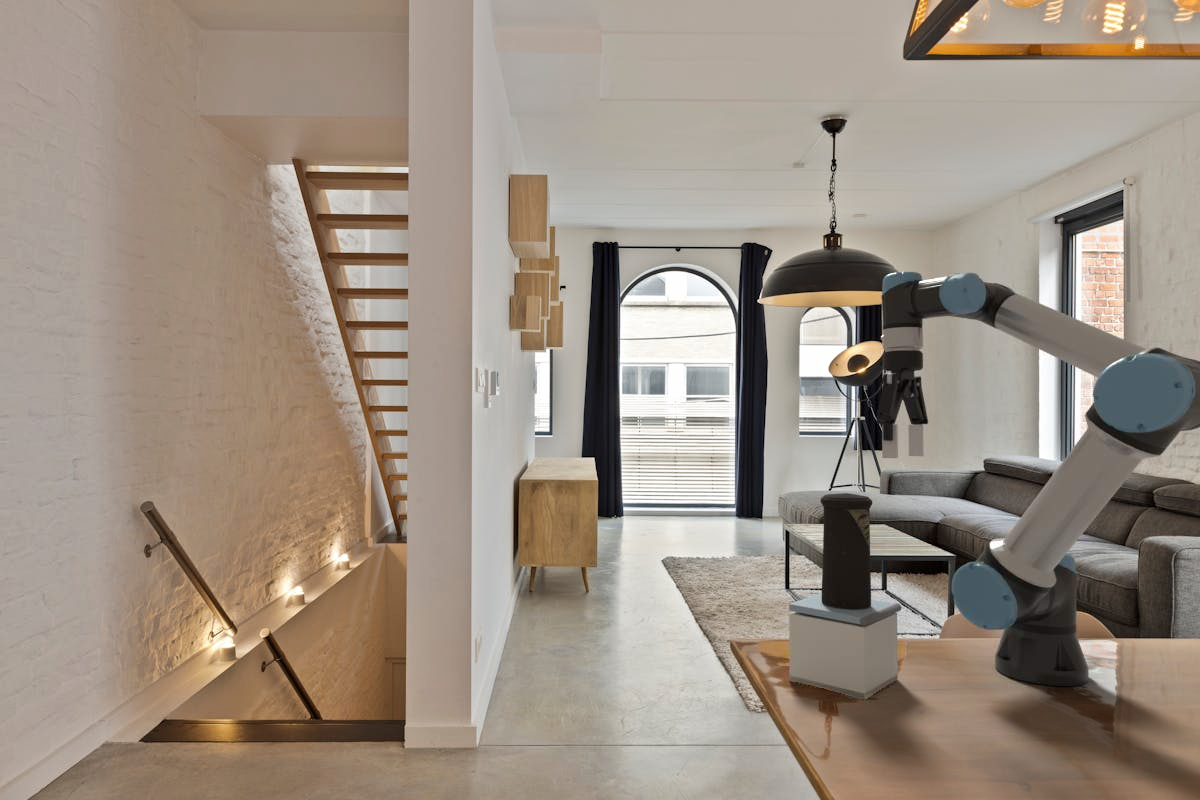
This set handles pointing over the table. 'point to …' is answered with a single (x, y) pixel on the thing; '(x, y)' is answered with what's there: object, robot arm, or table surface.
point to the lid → (845, 610)
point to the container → (846, 551)
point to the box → (843, 654)
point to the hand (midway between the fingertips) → (903, 457)
